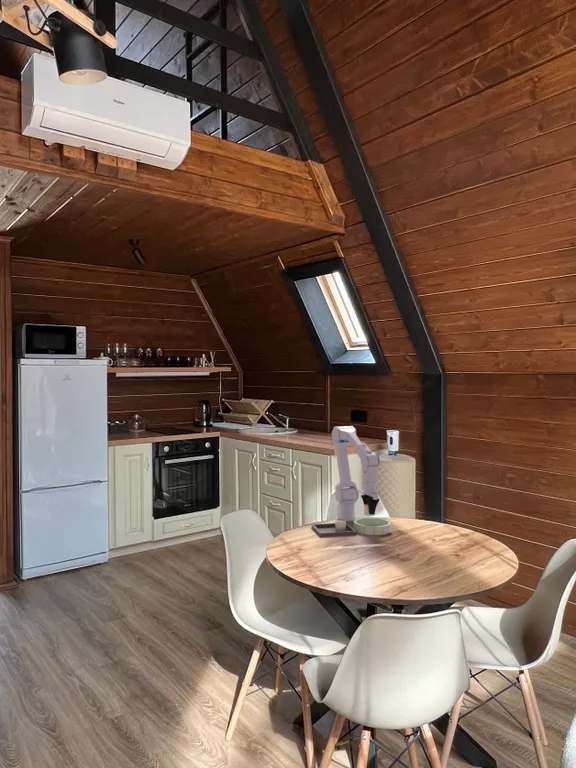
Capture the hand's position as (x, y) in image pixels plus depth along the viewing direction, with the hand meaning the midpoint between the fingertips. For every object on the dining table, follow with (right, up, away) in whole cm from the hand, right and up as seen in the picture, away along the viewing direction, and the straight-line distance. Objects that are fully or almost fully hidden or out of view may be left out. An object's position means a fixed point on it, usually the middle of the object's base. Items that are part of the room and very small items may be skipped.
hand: (369, 512), depth 248 cm
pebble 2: (0, -1, 0) cm, 1 cm away
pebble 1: (-13, -7, -1) cm, 15 cm away
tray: (-16, -8, -2) cm, 18 cm away
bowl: (+1, -8, 0) cm, 8 cm away
